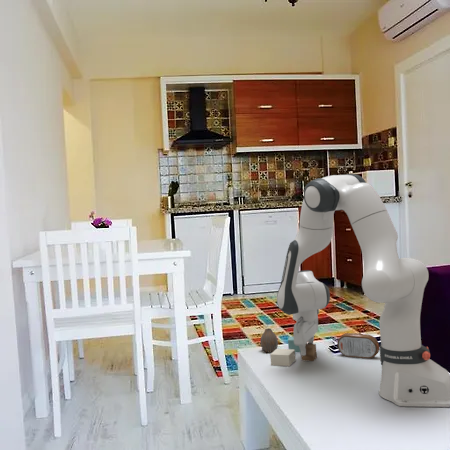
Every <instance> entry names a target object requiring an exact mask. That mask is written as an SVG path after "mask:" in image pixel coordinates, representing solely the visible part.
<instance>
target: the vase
mask: <svg viewBox="0 0 450 450" xmlns="http://www.w3.org/2000/svg"><path fill="white" fill-rule="evenodd" d="M259 342H260V346H261V349H262V351H264V352H265V353H272V352H274V351H275V350H276V349H278V346H279V339H278V337H277V334H276V333H274V332H273V330H272V328H265V329H264V332H263V333H262V335H261V337H260V341H259Z"/></svg>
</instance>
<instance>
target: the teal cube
mask: <svg viewBox="0 0 450 450" xmlns="http://www.w3.org/2000/svg"><path fill="white" fill-rule="evenodd" d="M287 344H288V349H294V350H295V354H297V353H296V352H300V353H301V351H300V348H299V346H295V344H294V336H288V339H287Z"/></svg>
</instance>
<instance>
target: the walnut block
mask: <svg viewBox="0 0 450 450" xmlns="http://www.w3.org/2000/svg"><path fill="white" fill-rule="evenodd" d="M305 348H306V351H307V354H306V355H305V356H303V355H301V354H300V357H301V361H304V362H305V361H307V362H314V361H315V360H316V359H317V358H318V356H317V354H318V353H317V352H318V351H317V344H316V343H313V344H308V343H306V346H305Z"/></svg>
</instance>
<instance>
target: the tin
mask: <svg viewBox="0 0 450 450" xmlns="http://www.w3.org/2000/svg"><path fill="white" fill-rule="evenodd" d="M336 344H337V349H338V350H339V352H340V354H341V355H343V356H345V357H348V358H357V359H373V358H374V357H376V356H377V355H378V354H379V353H380V343H379V341H378V340H377V338H375V337H374V336H373V335H371V334H362V333H354V332H353V333H352V332H346V333H342V335H341V336H340V337H339V338H338V340H337V343H336Z"/></svg>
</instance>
